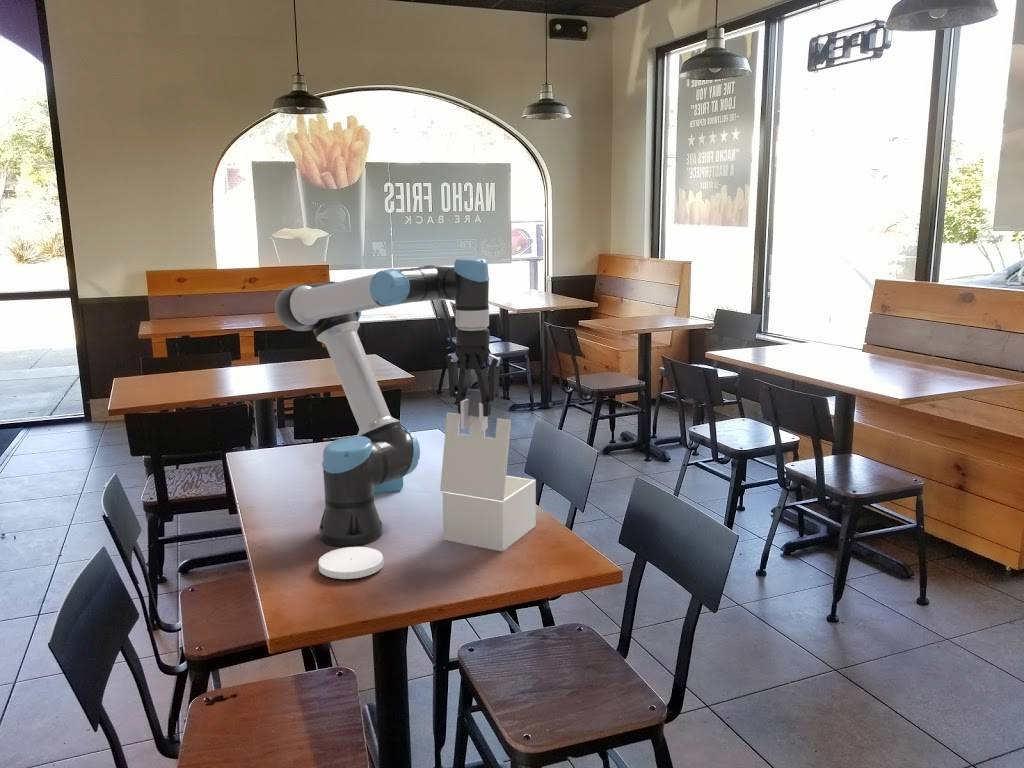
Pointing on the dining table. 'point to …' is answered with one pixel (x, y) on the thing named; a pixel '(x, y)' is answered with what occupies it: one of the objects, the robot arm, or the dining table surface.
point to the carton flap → (475, 456)
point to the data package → (389, 486)
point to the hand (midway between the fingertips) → (474, 428)
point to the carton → (491, 516)
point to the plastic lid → (350, 562)
